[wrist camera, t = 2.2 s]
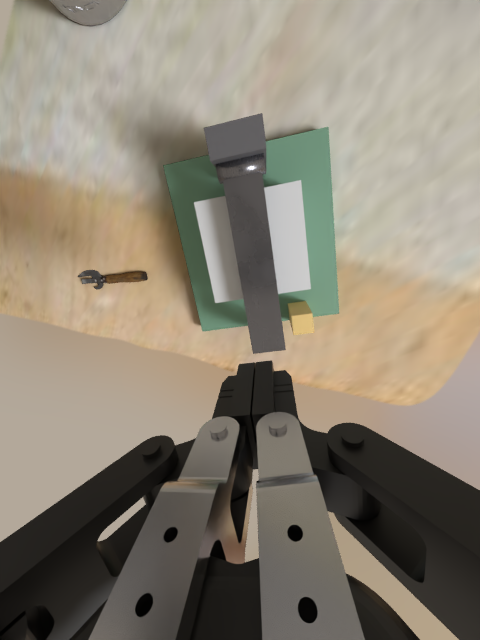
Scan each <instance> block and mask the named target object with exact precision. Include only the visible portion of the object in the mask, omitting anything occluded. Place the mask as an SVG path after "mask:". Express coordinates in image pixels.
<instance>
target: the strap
mask: <svg viewBox="0 0 480 640" xmlns="http://www.w3.org/2000/svg"><path fill="white" fill-rule="evenodd" d="M216 172H217V177H218V180H219V183H220V184H223V185H224V191H225V197H226V202H227V208H228V214H229V220H230V225H231V231H232V237H233V242H234V248H235V254H236V259H237V265H238V271H239V276H240V282H241V288H242V293H243V299H244V305H245V310H246V316H247V322H248V328H249V333H250V339H251V345H252V350H253V354H254V353H263V352H272V351H280V350H286V349H285V342H284V334H283V327H282V319H281V312H280V304H279V296H278V289H277V281H276V274H275V266H274V259H273V251H272V244H271V236H270V228H269V221H268V213H267V206H266V198H265V191H264V183H263V176H262V175H264V174H266V166H265V158H264V153H262V154H257V155H252V156H248V157H244V158H239V159H235V160H230V161H226V162H222V163H218V164H216Z"/></svg>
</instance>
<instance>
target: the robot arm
mask: <svg viewBox="0 0 480 640" xmlns="http://www.w3.org/2000/svg"><path fill="white" fill-rule="evenodd" d="M50 1H51V3H52V4H53V5H54V6H55V7H56V8H57V9H58V10H59V11H60V12H61V13H62V14H63V15H65V16H66V17H68V18H69V19H70V20H72V21H74V22H77V23H79V24H82V25H91V26H93V25H98V24H102V23H104V22H106V21H108V20H110V19H112V18H113V17H114V16H115V15H116V14H117V13H118V12H119V11H120V10H121V8H122V7H123V5H124V4H125V2H126V0H50ZM253 469H258V472H259V481H257V484H256V490H257V491H256V492H257V517H258V541H259V558H258V559H255V560H252V561H249V562H246V563H245V547H246V540H247V532H248V524H249V516H250V508H251V501H252V493H253V488H252V472H253ZM142 497H143V498H144V500H145V503H146V505H145V506H144V507H143V508H141V509H140V510H139V511H138V512H137V513H136V514H134V515H133V516H132V517H131V518H130V519H129V520H128V521H126V522H125V523H124V524H123V525H122V526H121V527H120V528H118V529H117V530H116V531H115V532H114V533H113V534H112V535H111V536H109V537H108V538H107V539H105V540H103V541H99V542H98V541H97V540H98V538H99V536H100V534H101V533H102V532H103V531H104V530H105V529H106V528H107V527H108V526H109V525H110V524H111V523H113V522H114V521H115V520H116V519H117V518H118V517H120V516H121V515H122V514H123V513H124V512H126V511H127V510H128V509H129V508H130V507H131V506H133V505H134V504H135V503H136V502H137V501H138V500H140V498H142ZM328 511H329V512H333V513H334V514H335V516H336V518H337V520H338V521H339V522H340V524H341V525H342V526H343V527H345V529H346V530H347V531H348V532H349V533H350V534H352V535H353V536H354V537H355V538H356V539H357V540H358V541H359V542H360V543H361V544H362V545H363V546H364V547H365V548H366V549H367V550H368V551H369V552H370V553H371V554H372V555H373V556H374V557H375V558H376V559H377V560H378V561H379V562H380V563H382V564H383V566H385V568H386V569H387V570H388V571H389V572H391V574H392V575H394V576H395V577H396V578H397V579H398V580H399V581H400V582H401V583H402V584H403V585H404V586H405V587H406V588H407V589H408V590H409V591H410V592H411V593H412V594H413V595H414V596H415V597H416V598H417V599H418V600H419V601H420V602H421V603H422V604H423V605H424V606H425V607H427V609H428V610H429V611H430V612H432V613H433V615H434V616H436V617H437V618H438V619H439V620H440V621H441V622H442V623H443V624H444V625H445V626H446V627H447V628H448V629H449V630H450V631H451V632H452V633H453V634H454V635H455V636H456V637H457V638H458V639H459V640H480V490H478V489H476V488H474V487H473V486H471V485H469V484H467V483H465V482H464V481H462V480H460V479H458V478H456V477H455V476H453V475H451V474H449V473H447V472H446V471H444V470H442V469H440V468H438V467H437V466H435V465H433V464H431V463H429V462H428V461H426V460H424V459H422V458H421V457H419V456H417V455H415V454H413V453H412V452H410V451H408V450H406V449H404V448H403V447H401V446H399V445H397V444H396V443H394V442H392V441H390V440H388V439H387V438H385V437H383V436H381V435H379V434H378V433H376V432H374V431H372V430H371V429H369V428H367V427H365V426H362V425H360V424H355V423H342V424H338V425H335V426H334V427H332V428H331V429H330V430H329V431H328V433H322V432H317V431H314V430H311V429H309V428H307V427H306V426H304V425H303V424H302V423H301V422H300V421H299V419H298V415H297V410H296V403H295V397H294V391H293V385H292V379H291V376H290V375H289V374H288V373H287V372H286V371H285V370H283V371H274V368H273V362H272V361H263V362H256V364H255V363H246V364H239V366H238V371H237V375H236V376H228V377H227V379H226V380H225V381H224V382H223V383H222V386H221V389H220V393H219V396H218V400H217V403H216V407H215V410H214V414H213V417H212V419H211V420H209V421H208V422H206V423H205V424H204V425H203V426H202V427H201V429H200V430H199V432H198V435H197V437H196V438H195V439H193V440H191V441H188V442H185V443H182V444H179V445H174V442H173V440H172V439H171V438H170V437H168V436H155V437H152V438H150V439H147V440H146V441H144V442H142V443H141V444H140V445H138V446H137V447H135V448H134V449H133V450H131V451H130V452H128V453H127V454H125V455H124V456H122V457H121V458H120V459H119V460H117V461H115V462H114V463H112V464H111V465H110V466H108V467H107V468H105V469H104V470H103V471H101V472H100V473H98V474H97V475H95V476H94V477H93V478H91V479H90V480H88V481H87V482H85V483H84V484H83V485H81V486H80V487H78V488H77V489H75V490H74V491H73V492H71V493H70V494H68V495H67V496H65V497H64V498H63V499H61V500H60V501H58V502H57V503H56V504H54V505H53V506H51V507H50V508H49V509H47V510H46V511H44V512H43V513H41V514H40V515H38V516H37V517H36V518H34V519H33V520H31V521H30V522H29V523H27V524H26V525H24V526H23V527H21V528H20V529H19V530H17V531H16V532H14V533H13V534H12V535H10V536H9V537H7V538H6V539H4V540H3V541H1V542H0V640H420V639H419V638H418V637H417V636H416V635H415V634H414V632H413V631H412V630H411V629H410V628H409V627H408V626H407V624H406V623H405V622H404V621H403V620H402V619H401V618H400V616H399V615H398V614H397V613H396V612H395V611H394V610H393V609H392V608H391V607H390V606H389V605H388V604H387V603H386V602H385V601H384V600H383V599H382V598H381V597H380V596H379V595H378V594H377V593H375V592H374V591H373V590H371V589H370V588H369V587H368V586H366V585H365V584H364V583H362V582H360V581H359V580H357V579H356V578H354V577H352V576H350V575H348V574H346V573H345V570H344V566H343V563H342V560H341V556H340V553H339V549H338V546H337V542H336V539H335V535H334V532H333V529H332V525H331V522H330V518H329V515H328Z"/></svg>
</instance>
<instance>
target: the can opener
mask: <svg viewBox="0 0 480 640" xmlns="http://www.w3.org/2000/svg"><path fill="white" fill-rule="evenodd" d="M83 276H92V279H82V284H86V283H98V287H94V288H95V289H101V288H102V287H103V283H109V284H110V283H118V282H139V281H145V280H147V279H148V278H147V273H146V272H131V273H125V274H119V275H107V276H104V277H103V276H101V275H100V274H99V272H98V271H95V270H86V271H84V272H82V273H81V274H80V275H79V276H78V277H83Z"/></svg>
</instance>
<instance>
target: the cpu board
mask: <svg viewBox="0 0 480 640" xmlns="http://www.w3.org/2000/svg"><path fill="white" fill-rule="evenodd" d="M204 131H205V136H206V142H207V147H208V153H209V155H206V156H202V157H197V158H193V159H189V160H185V161H180V162H176V163H172V164H168V165H163V167H164V171H165V175H166V179H167V184H168V188H169V192H170V196H171V200H172V205H173V209H174V213H175V217H176V222H177V226H178V230H179V234H180V238H181V243H182V247H183V251H184V255H185V259H186V264H187V268H188V272H189V276H190V280H191V285H192V289H193V293H194V297H195V302H196V306H197V310H198V314H199V318H200V323H201V327H202V331H210V330H218V329H225V328H233V327H240V326H248V322H247V316H246V310H245V305H244V299H243V293H242V288H241V282H240V276H239V271H238V265H237V259H236V254H235V248H234V242H233V237H232V231H231V225H230V220H229V214H228V208H227V202H226V197H225V191H224V185H223V184H220V183H219V180H218V177H217V172H216V164H218V163H222V162H226V161H230V160H235V159H239V158H244V157H248V156H252V155H257V154H262V153H264V158H265V166H266V174H264V175H262V176H263V183H264V191H265V198H266V206H267V213H268V221H269V228H270V236H271V244H272V251H273V259H274V266H275V274H276V281H277V289H278V296H279V304H280V312H281V319H282V321H286V320H290V323H291V327H292V331H293V335H298V334H306V333H314V325H313V317H316V316H324V315H331V314H339V303H338V285H337V268H336V251H335V234H334V216H333V199H332V182H331V164H330V147H329V130H328V127H325V128H321V129H317V130H312V131H308V132H304V133H300V134H295V135H291V136H287V137H283V138H278V139H274V140H270V141H266V140H265V132H264V124H263V116H262V113H261V114H257V115H253V116H249V117H245V118H241V119H237V120H233V121H229V122H225V123H221V124H217V125H213V126H210V127H206V128H204Z"/></svg>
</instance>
